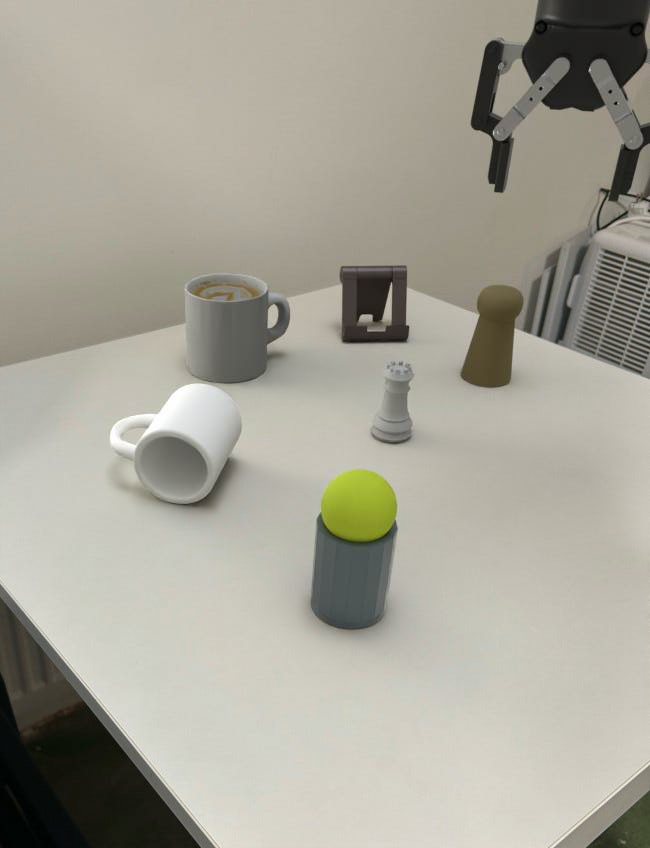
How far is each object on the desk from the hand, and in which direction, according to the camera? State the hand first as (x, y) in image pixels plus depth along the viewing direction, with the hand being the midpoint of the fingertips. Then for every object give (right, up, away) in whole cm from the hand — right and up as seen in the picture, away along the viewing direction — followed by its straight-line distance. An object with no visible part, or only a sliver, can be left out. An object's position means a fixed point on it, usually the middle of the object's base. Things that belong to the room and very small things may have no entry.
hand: (554, 195), depth 65 cm
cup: (-16, -32, +2) cm, 36 cm away
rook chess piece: (-9, -16, +25) cm, 31 cm away
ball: (-16, -25, -4) cm, 30 cm away
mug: (-32, -21, +17) cm, 42 cm away
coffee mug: (-25, -5, +39) cm, 47 cm away
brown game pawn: (+5, -7, +37) cm, 38 cm away
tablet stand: (-7, +1, +48) cm, 48 cm away
